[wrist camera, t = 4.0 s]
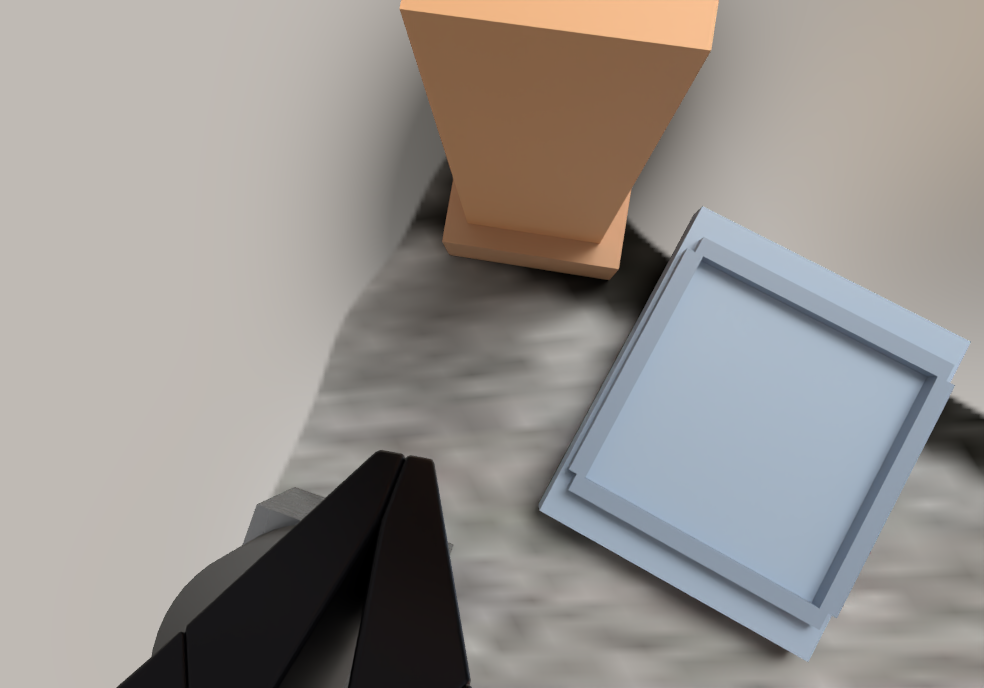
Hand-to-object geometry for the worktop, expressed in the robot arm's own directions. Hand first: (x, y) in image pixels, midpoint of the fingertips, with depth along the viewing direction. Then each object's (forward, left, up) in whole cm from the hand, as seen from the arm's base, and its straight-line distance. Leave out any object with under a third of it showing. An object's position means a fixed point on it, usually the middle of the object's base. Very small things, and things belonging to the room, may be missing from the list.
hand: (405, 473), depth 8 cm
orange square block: (+9, 0, -12) cm, 15 cm away
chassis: (+3, -9, -12) cm, 16 cm away
